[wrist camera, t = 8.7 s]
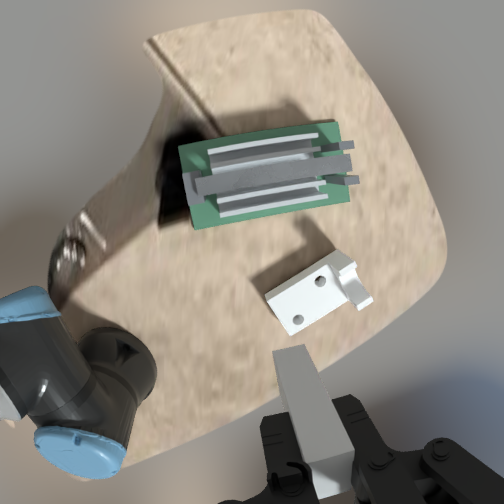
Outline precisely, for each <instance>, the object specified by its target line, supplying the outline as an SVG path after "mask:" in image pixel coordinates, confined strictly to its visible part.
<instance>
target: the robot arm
mask: <svg viewBox="0 0 504 504" xmlns="http://www.w3.org/2000/svg"><path fill="white" fill-rule="evenodd" d="M272 352H273V358H274V364H275V369H276V375H277V380H278V386H279V391H280V396H281V400H282V403H283V407H284V410H285V412H284V413H279V414H275V415H270V416H265V417H263V419H262V422H261V425H260V431H261V437H262V443H263V448H264V454H265V459H266V465H267V470H268V473H267V482H268V484H267V486H266V487H265V489H264V490H263V491H262V492H261V493H260V494H258V495H256V496H255V497H252V498H250V499H248V500H246V501H243V502H242V501H237V500H225V501H223V502H220V503H218V504H320V503H319V500H318V499H321V498H325V497H328V496H332V495H335V494H339V493H342V492H345V491H348V490H351V485H352V486H353V488H354V491H355V500H354V504H504V478H503V477H501V476H500V475H498V474H497V473H495V472H494V471H493V470H492V469H490V468H489V467H487V466H486V465H485V464H484V463H482V462H481V461H480V460H478V459H477V458H475V457H474V456H473V455H471V454H470V453H469V452H467V451H466V450H465V449H464V448H462V447H461V446H460V445H458V444H457V443H456V442H454V441H453V440H450V439H448V438H437V439H434V440H432V441H430V442H428V443H427V445H426V446H425V447H424V449H422V450H415V451H408V452H400V451H395V450H393V449H391V448H389V447H388V446H387V445H386V444H385V443H384V441H383V440H382V438H381V436H380V434H379V433H378V431H377V429H376V428H375V426H374V424H373V422H372V421H371V419H370V418H369V416H368V414H367V412H366V411H365V409H364V407H363V405H362V403H361V402H360V400H358V399H357V398H355V397H354V396H352V395H351V394H349V395H346V396H343V397H339V398H336V399H332V400H331V399H330V397H329V394H328V393H327V390H326V388H325V386H324V384H323V382H322V380H321V378H320V376H319V374H318V371H317V369H316V367H315V365H314V363H313V361H312V359H311V357H310V355H309V353H308V351H307V349H306V346H305V344H302V345H298V346H294V347H289V348H285V349H280V350H276V351H272ZM156 377H157V367H156V363H155V360H154V358H153V356H152V354H151V352H150V351H149V350H148V348H147V347H146V346H145V345H144V344H143V343H142V342H141V341H140V340H138V339H137V338H136V337H134V336H132V335H131V334H129V333H127V332H125V331H122V330H119V329H115V328H107V327H103V328H97V329H93V330H91V331H89V332H87V333H86V334H85V335H84V336H83V337H82V338H81V340H80V341H79V343H78V344H76V342H75V340H74V339H73V337H72V335H71V334H70V332H69V330H68V328H67V326H66V325H65V323H64V321H63V319H62V317H61V313H60V312H59V311H57V309H56V307H55V306H54V304H53V302H52V300H51V299H50V297H49V295H48V293H47V292H46V291H45V290H44V289H43V288H41V287H39V286H31V287H28V288H25V289H22V290H20V291H18V292H15V293H12V294H10V295H8V296H5V297H3V298H1V299H0V421H1V420H3V419H7V420H13V421H20V420H21V419H22V418H23V417H24V416H25V415H26V414H27V415H28V416H29V417H30V419H31V420H32V421H33V422H34V423H35V424H36V426H37V428H38V429H37V430H36V431H35V432H34V442H35V446H36V448H37V450H38V451H39V452H40V454H41V455H42V456H43V457H44V458H46V459H47V460H48V461H49V462H51V463H52V464H53V465H55V466H57V467H58V468H60V469H62V470H64V471H66V472H68V473H71V474H74V475H77V476H80V477H84V478H90V479H104V478H109V477H111V476H113V475H115V474H116V473H117V472H118V471H119V470H120V467H121V464H122V461H123V458H124V457H125V456H126V452H127V446H128V442H129V438H130V434H131V430H132V426H133V422H134V418H135V414H136V410H137V408H138V406H139V405H140V404H141V403H142V401H143V400H145V399H146V398H147V397H148V396H149V395H150V393H151V392H152V390H153V388H154V385H155V381H156Z"/></svg>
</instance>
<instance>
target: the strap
mask: <svg viewBox="0 0 504 504" xmlns="http://www.w3.org/2000/svg"><path fill="white" fill-rule="evenodd" d="M350 171H352V165H351V158H350V154H343V155H334V156H326V157H318V158H311V159H304V160H297V161H290V162H283V163H277V164H271V165H265V166H259V167H253V168H247V169H242V170H236V171H231V172H225V173H220V174H215V175H210V176H205V177H200V178H196V179H195V182H196V187H197V192H198V197H200V196H205V195H210V194H215V193H220V192H226V191H231V190H236V189H242V188H247V187H253V186H258V185H264V184H270V183H276V182H282V181H288V180H294V179H301V178H307V177H314V176H321V175H328V174H335V173H342V172H350Z"/></svg>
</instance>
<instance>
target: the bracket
mask: <svg viewBox="0 0 504 504" xmlns="http://www.w3.org/2000/svg"><path fill="white" fill-rule="evenodd" d="M356 267H357V265H356V263H355V261H354V260H353V259H351V258H350V257H348V256H347V255H346V254H344V253H343V252H341V251H340V250H338V249H336V250H335V251H333V252H332V253H330V254H329V255H327V256H325V257H324V258H322V259H321V260H319V261H318V262H316V263H314V264H313V265H311V266H310V267H308V268H307V269H305V270H303V271H302V272H300V273H299V274H297V275H295V276H294V277H292V278H290V279H289V280H287V281H286V282H284V283H282V284H281V285H279V286H278V287H276V288H274V289H273V290H271V291H269V292H268V293H266V294H264V295H265V298H266V301H267V302H268V304H269V305H270V307H271V308H272V310H273V311H274V313H275V314H276V316H277V317H278V319H279V320H280V322H281V323H282V325H283V326H284V328H285V329H286V331H287V332H288V334H289V335H290V336H292V335H293V334H295V333H297V332H298V331H300V330H302V329H303V328H305V327H307V326H308V325H310V324H312V323H313V322H315V321H316V320H318V319H320V318H321V317H323V316H324V315H326V314H328V313H329V312H331V311H332V310H334V309H335V308H337V307H339V306H340V305H342V304H343V303H345V302H346V301H348V300H349V301H350V302H351V303H352V304H353V306H354V307H355V308H356V309H357V310H358V311H360V310H361V309H363V308H364V307H366V306H367V305H369V304H370V303H371V302H373V299H372V296H371V295H370V294H369V293H368V292H367V291H366V289H365V288H364V286H363V285H362V283H361V282H360V280H359V278H358V276H357V274H356V272H355V268H356ZM318 276H321V277H320V279H319V280H317V281H315V279H316V278H317V277H318Z"/></svg>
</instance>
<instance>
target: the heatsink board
mask: <svg viewBox="0 0 504 504" xmlns="http://www.w3.org/2000/svg"><path fill="white" fill-rule="evenodd" d="M178 149H179V155H180V160H181V165H182V171H183V174H182V176H183V181H184V186H185V191H186V196H187V201H188V206H190V210H191V215H192V220H193V225H194V229H195V230H199V229H204V228H209V227H213V226H218V225H224V224H229V223H234V222H239V221H244V220H249V219H254V218H260V217H265V216H270V215H276V214H281V213H287V212H292V211H298V210H303V209H309V208H315V207H320V206H326V205H332V204H338V203H344V202H350V197H349V189H348V185H353V184H360V182H359V176H358V175H347V174H346V172H342V173H335V174H328V175H321V176H314V177H307V178H301V179H294V180H288V181H282V182H276V183H270V184H264V185H258V186H253V187H247V188H242V189H236V190H231V191H226V192H220V193H215V194H210V195H205V196H200V197H198V192H197V187H196V182H195V179H196V178H200V177H205V176H210V175H215V174H220V173H225V172H231V171H236V170H242V169H247V168H253V167H259V166H265V165H271V164H277V163H283V162H290V161H297V160H304V159H311V158H318V157H326V156H334V155H343V150H346V149H354V141H342V142H341V136H340V131H339V125H338V122H329V123H318V124H309V125H300V126H291V127H283V128H276V129H269V130H262V131H256V132H249V133H243V134H237V135H232V136H226V137H221V138H215V139H210V140H205V141H200V142H195V143H191V144H186V145H182V146H178Z"/></svg>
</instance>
